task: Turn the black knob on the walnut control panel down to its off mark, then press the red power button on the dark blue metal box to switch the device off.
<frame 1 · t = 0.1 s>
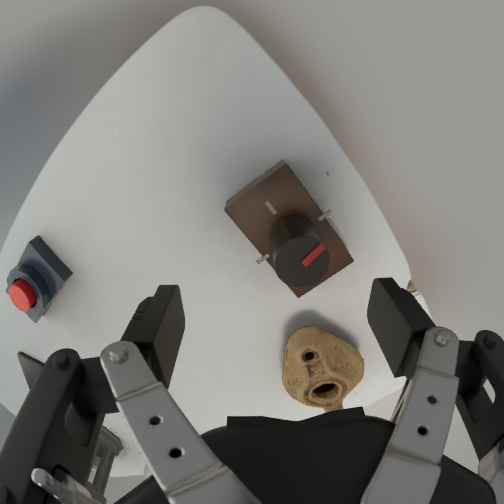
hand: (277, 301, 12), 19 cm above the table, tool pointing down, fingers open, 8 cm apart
button box: (39, 279, 33), on the table
knob: (298, 249, 25), point 6 cm above the table, hinge at 100.0°
panel: (289, 226, 30), on the table
smartphone: (39, 380, 44), on the table
lantern: (90, 433, 51), on the table
power button: (22, 295, 29), point 4 cm above the table, slide at 0.1 cm
oil lamp: (314, 351, 38), on the table
medication box: (83, 449, 57), on the table
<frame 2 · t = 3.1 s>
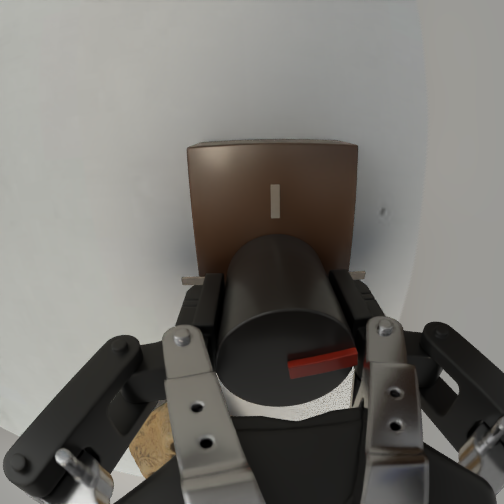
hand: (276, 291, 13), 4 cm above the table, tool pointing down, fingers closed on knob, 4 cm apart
knob: (280, 316, 11), point 6 cm above the table, hinge at 100.2°, touching gripper
panel: (271, 251, 16), on the table
oil lamp: (189, 420, 24), on the table
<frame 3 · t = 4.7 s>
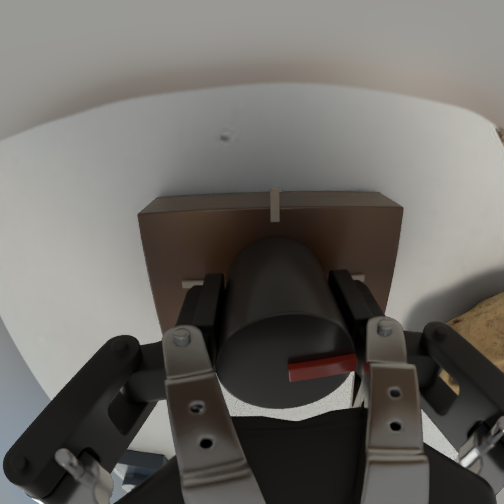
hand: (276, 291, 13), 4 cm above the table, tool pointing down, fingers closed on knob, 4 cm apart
button box: (153, 470, 29), on the table
knob: (280, 319, 11), point 6 cm above the table, hinge at 6.3°, touching gripper
panel: (271, 254, 16), on the table
oil lamp: (467, 325, 19), on the table
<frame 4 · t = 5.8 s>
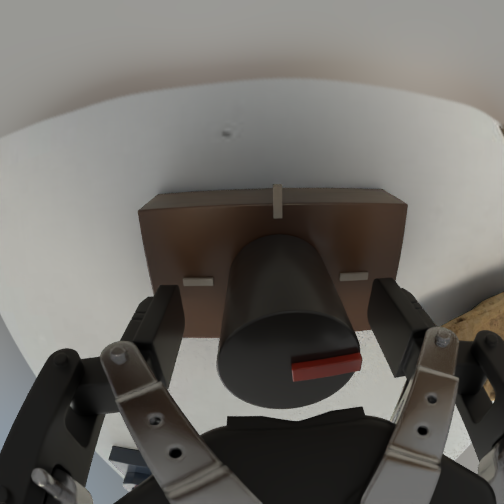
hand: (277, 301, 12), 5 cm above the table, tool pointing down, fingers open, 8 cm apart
button box: (154, 469, 29), on the table
knob: (283, 318, 11), point 6 cm above the table, hinge at 6.2°
panel: (273, 251, 16), on the table
oil lamp: (470, 324, 19), on the table
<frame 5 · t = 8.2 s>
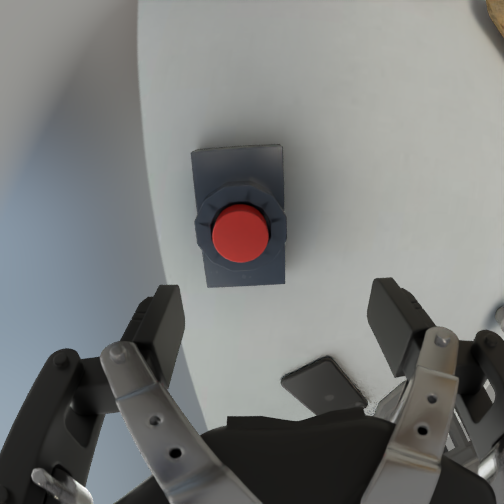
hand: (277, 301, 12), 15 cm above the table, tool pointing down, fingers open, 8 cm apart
button box: (241, 214, 26), on the table
lightbulb: (497, 309, 32), on the table
smartphone: (328, 392, 37), on the table
lantern: (416, 399, 40), on the table
power button: (240, 233, 22), point 4 cm above the table, slide at 0.1 cm
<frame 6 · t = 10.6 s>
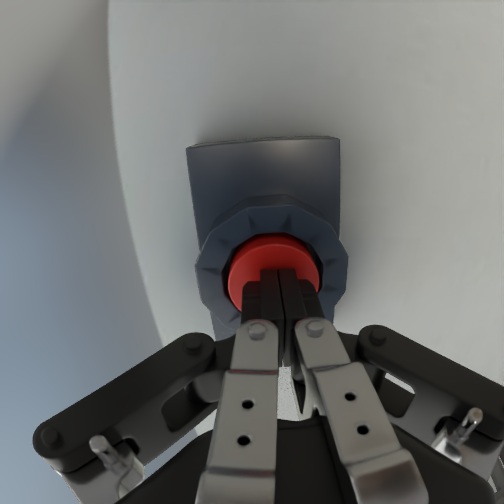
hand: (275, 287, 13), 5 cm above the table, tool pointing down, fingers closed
button box: (268, 245, 17), on the table
lantern: (452, 433, 30), on the table
power button: (272, 276, 14), point 4 cm above the table, slide at -0.7 cm, touching gripper
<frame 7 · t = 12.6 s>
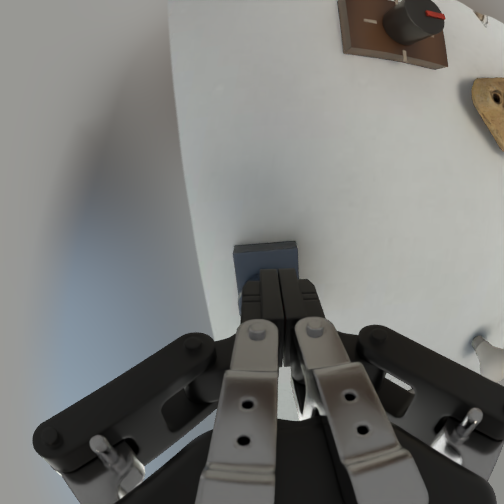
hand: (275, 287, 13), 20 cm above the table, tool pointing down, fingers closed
button box: (268, 288, 36), on the table
knob: (413, 20, 18), point 6 cm above the table, hinge at 6.2°
lightbulb: (474, 337, 41), on the table
panel: (389, 34, 23), on the table
oil lamp: (494, 114, 26), on the table
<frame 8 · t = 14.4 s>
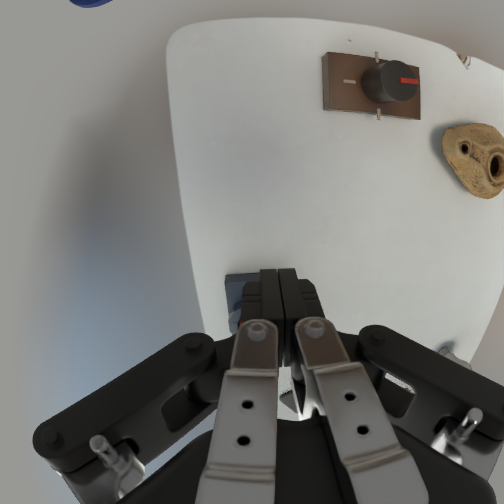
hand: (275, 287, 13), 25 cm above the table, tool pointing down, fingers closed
button box: (254, 308, 43), on the table
knob: (388, 82, 25), point 6 cm above the table, hinge at 6.2°
lightbulb: (441, 349, 49), on the table
panel: (368, 87, 30), on the table
smartphone: (312, 404, 54), on the table
power button: (254, 327, 39), point 4 cm above the table, slide at 0.1 cm
oil lamp: (465, 155, 33), on the table
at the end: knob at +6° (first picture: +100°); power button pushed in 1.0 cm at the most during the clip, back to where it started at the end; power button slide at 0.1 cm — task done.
